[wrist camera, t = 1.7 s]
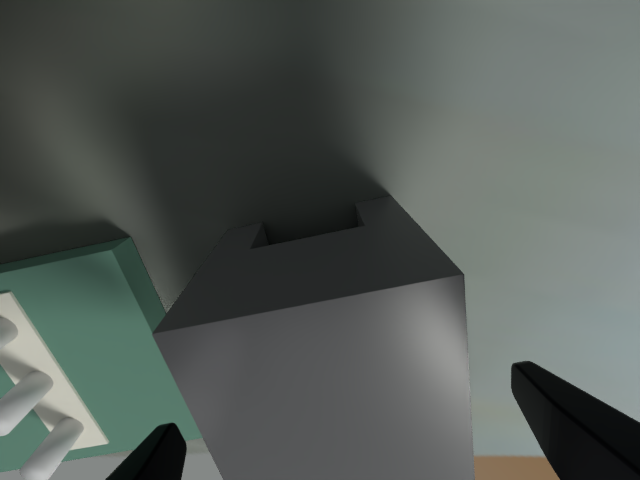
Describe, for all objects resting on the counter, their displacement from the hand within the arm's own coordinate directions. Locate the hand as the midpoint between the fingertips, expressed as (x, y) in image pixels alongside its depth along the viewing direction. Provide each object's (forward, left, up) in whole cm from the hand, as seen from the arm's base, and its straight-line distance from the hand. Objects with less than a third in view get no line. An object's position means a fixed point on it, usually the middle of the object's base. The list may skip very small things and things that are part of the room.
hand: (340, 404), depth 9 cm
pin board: (+12, 0, -5) cm, 13 cm away
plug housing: (0, 0, -5) cm, 5 cm away
